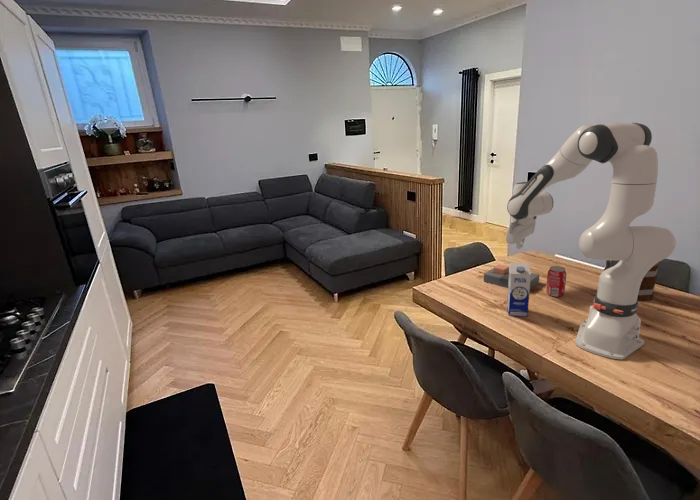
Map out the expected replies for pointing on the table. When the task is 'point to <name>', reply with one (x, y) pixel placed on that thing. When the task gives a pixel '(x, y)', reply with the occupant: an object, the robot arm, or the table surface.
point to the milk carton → (518, 289)
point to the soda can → (556, 281)
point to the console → (506, 279)
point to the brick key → (501, 269)
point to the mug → (645, 282)
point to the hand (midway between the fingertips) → (519, 247)
